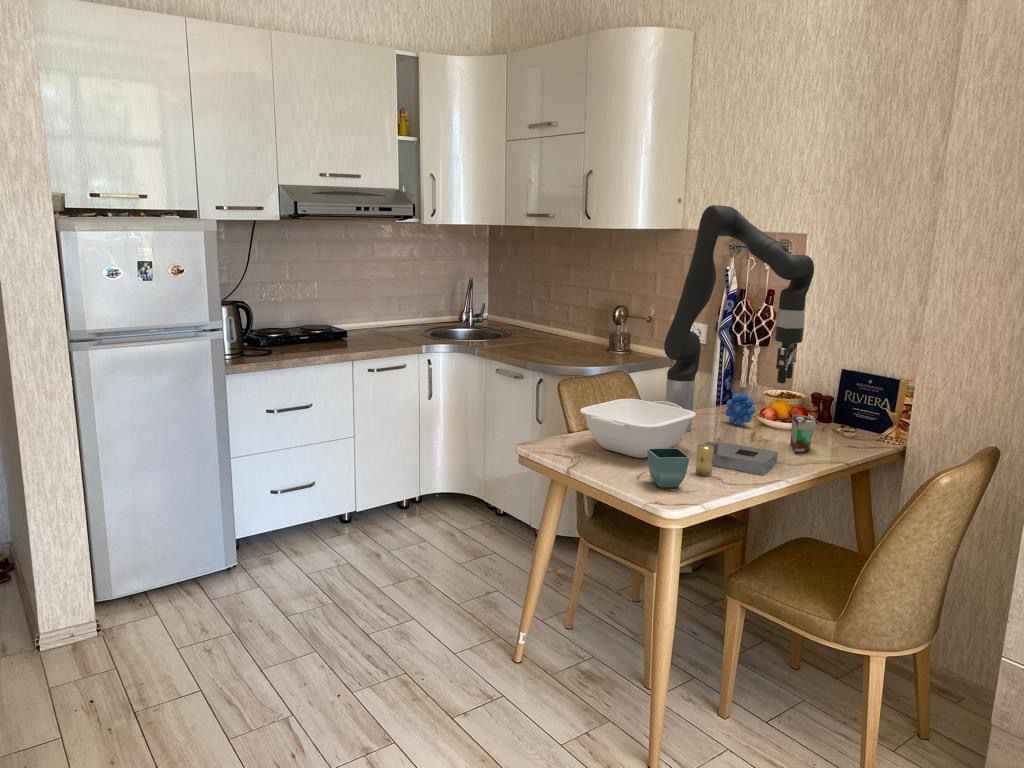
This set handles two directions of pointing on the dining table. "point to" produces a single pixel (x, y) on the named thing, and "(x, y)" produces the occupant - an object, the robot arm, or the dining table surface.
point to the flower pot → (667, 466)
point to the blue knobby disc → (740, 409)
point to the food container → (801, 433)
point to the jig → (743, 458)
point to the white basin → (636, 425)
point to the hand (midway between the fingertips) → (784, 380)
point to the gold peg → (704, 460)
